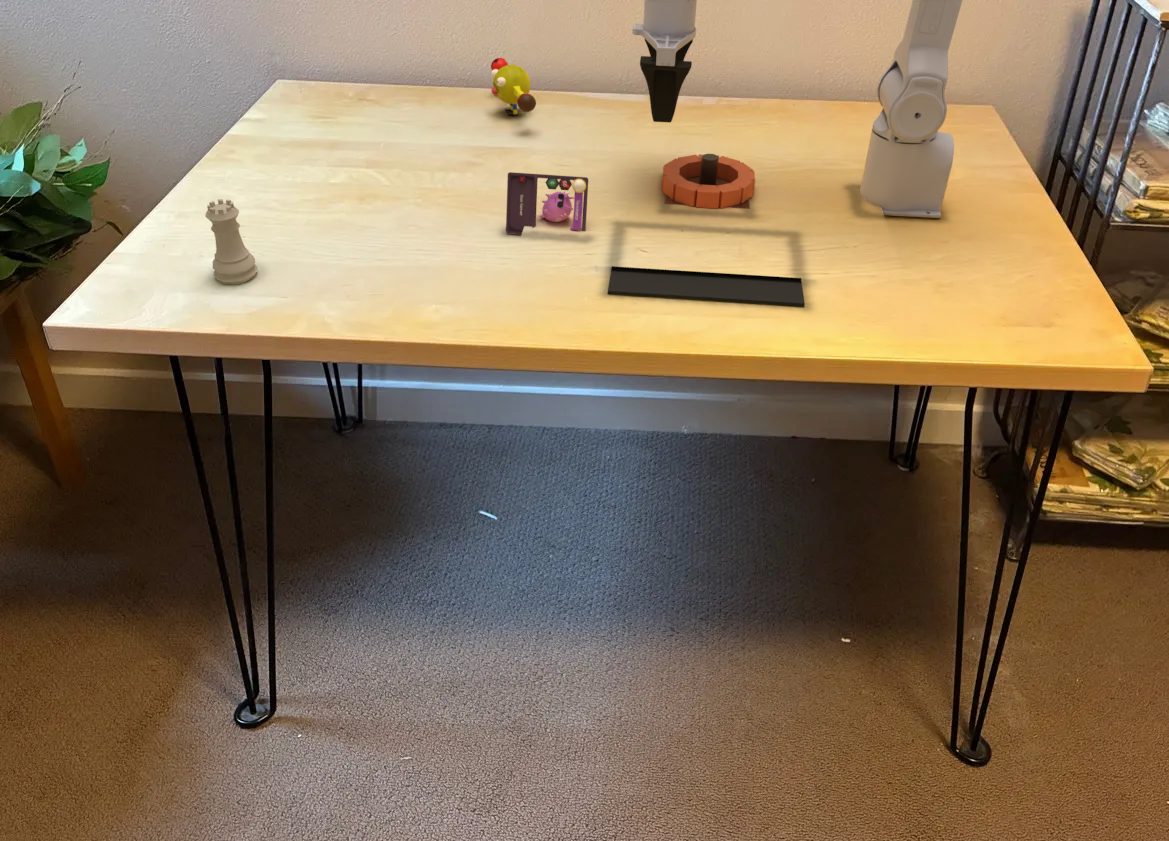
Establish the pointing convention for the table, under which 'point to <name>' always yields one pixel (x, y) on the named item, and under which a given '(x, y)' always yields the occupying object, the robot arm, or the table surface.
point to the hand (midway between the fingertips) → (663, 109)
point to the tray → (706, 286)
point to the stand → (708, 179)
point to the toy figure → (512, 86)
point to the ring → (708, 194)
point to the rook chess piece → (229, 245)
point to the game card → (554, 208)
